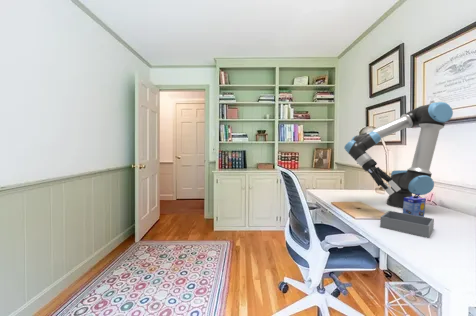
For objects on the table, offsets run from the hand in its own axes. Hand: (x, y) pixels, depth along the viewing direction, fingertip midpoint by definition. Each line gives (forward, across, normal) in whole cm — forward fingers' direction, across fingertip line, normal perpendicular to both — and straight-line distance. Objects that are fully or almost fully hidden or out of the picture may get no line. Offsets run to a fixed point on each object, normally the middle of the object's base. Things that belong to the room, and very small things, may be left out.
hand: (395, 192), depth 125 cm
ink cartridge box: (+16, -1, -4) cm, 16 cm away
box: (+16, +16, -4) cm, 22 cm away
